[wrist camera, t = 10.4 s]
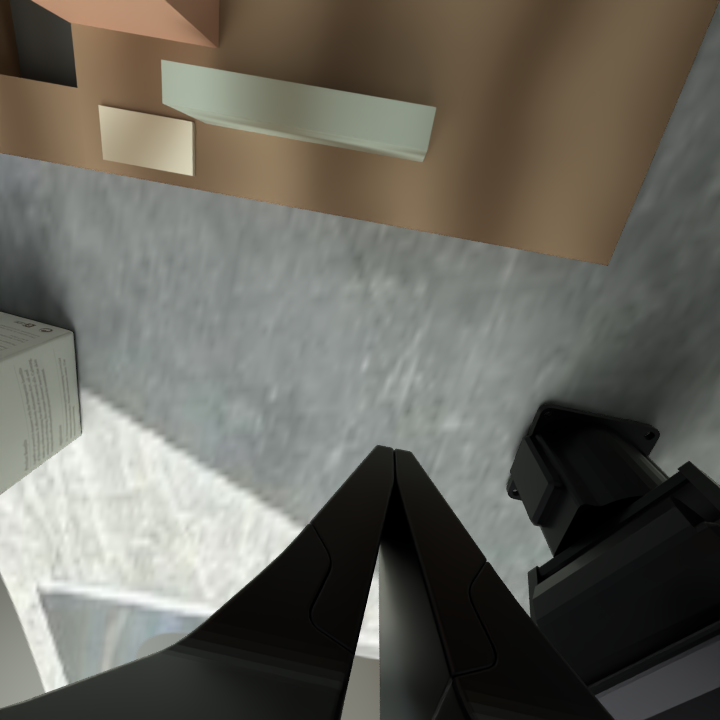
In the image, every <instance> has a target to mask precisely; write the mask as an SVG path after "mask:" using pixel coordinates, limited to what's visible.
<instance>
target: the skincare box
mask: <svg viewBox="0 0 720 720" xmlns="http://www.w3.org/2000/svg"><path fill="white" fill-rule="evenodd" d="M79 436H81V425H80V414H79V401H78V389H77V376H76V362H75V349H74V336H73V332H71V331H69V330H66V329H62V328H59V327H55V326H51V325H48V324H44V323H40V322H37V321H33V320H30V319H26V318H22V317H18V316H15V315H11V314H7V313H3V312H0V495H1V494H2V493H3V492H5V491H6V490H7V489H9V488H10V487H11V486H13V485H14V484H16V483H17V482H18V481H20V480H21V479H22V478H24V477H25V476H26V475H28V474H29V473H31V472H32V471H33V470H35V469H36V468H37V467H39V466H40V465H41V464H43V463H44V462H45V461H47V460H48V459H49V458H51V457H52V456H54V455H55V454H56V453H58V452H59V451H60V450H62V449H63V448H64V447H66V446H67V445H68V444H70V443H71V442H72V441H74V440H75V439H77V438H78V437H79Z"/></svg>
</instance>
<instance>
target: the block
mask: <svg viewBox="0 0 720 720" xmlns="http://www.w3.org/2000/svg"><path fill="white" fill-rule="evenodd" d="M32 1H33V2H35V3H37V4H38V5H40V6H42V7H44V8H45V9H47V10H49V11H51V12H52V13H54V14H56V15H58V16H59V17H61V18H63V19H64V20H66V21H68V22H70V23H76V24H81V25H87V26H93V27H98V28H104V29H110V30H115V31H121V32H127V33H133V34H138V35H144V36H150V37H155V38H161V39H167V40H172V41H178V42H184V43H189V44H195V45H201V46H207V47H212V48H218V49H219V0H32Z"/></svg>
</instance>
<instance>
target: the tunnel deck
mask: <svg viewBox="0 0 720 720" xmlns="http://www.w3.org/2000/svg"><path fill="white" fill-rule="evenodd" d="M719 1H720V0H219V49H218V48H212V47H207V46H201V45H195V44H189V43H184V42H178V41H172V40H167V39H161V38H155V37H150V36H144V35H138V34H133V33H127V32H121V31H115V30H110V29H104V28H98V27H93V26H87V25H81V24H76V23H70V22H68V21H66V20H64V19H63V18H61V17H59V16H58V15H56V14H54V13H52V12H51V11H49V10H47V9H45V8H44V7H42V6H40V5H38V4H37V3H35V2H33V1H32V0H0V153H4V154H9V155H15V156H20V157H25V158H31V159H36V160H42V161H47V162H52V163H58V164H63V165H68V166H74V167H79V168H85V169H90V170H95V171H101V172H106V173H112V174H117V175H122V176H128V177H133V178H139V179H144V180H149V181H155V182H160V183H165V184H171V185H176V186H182V187H187V188H192V189H198V190H203V191H209V192H214V193H219V194H225V195H230V196H235V197H241V198H246V199H252V200H257V201H262V202H268V203H273V204H279V205H284V206H289V207H295V208H300V209H305V210H311V211H316V212H322V213H327V214H332V215H338V216H343V217H349V218H354V219H359V220H365V221H370V222H376V223H381V224H386V225H392V226H397V227H402V228H408V229H413V230H419V231H424V232H429V233H435V234H440V235H446V236H451V237H456V238H462V239H467V240H472V241H478V242H483V243H489V244H494V245H499V246H505V247H510V248H516V249H521V250H526V251H532V252H537V253H542V254H548V255H553V256H559V257H564V258H569V259H575V260H580V261H586V262H591V263H596V264H602V265H607V266H608V264H609V262H610V259H611V257H612V255H613V252H614V250H615V247H616V245H617V243H618V240H619V238H620V236H621V233H622V231H623V228H624V226H625V224H626V221H627V219H628V217H629V214H630V212H631V209H632V207H633V205H634V202H635V200H636V198H637V195H638V193H639V190H640V188H641V186H642V183H643V181H644V179H645V176H646V174H647V171H648V169H649V167H650V164H651V162H652V160H653V157H654V155H655V153H656V150H657V148H658V145H659V143H660V141H661V138H662V136H663V134H664V131H665V129H666V126H667V124H668V122H669V119H670V117H671V115H672V112H673V110H674V107H675V105H676V103H677V100H678V98H679V96H680V93H681V91H682V88H683V86H684V84H685V81H686V79H687V77H688V74H689V72H690V69H691V67H692V65H693V62H694V60H695V58H696V55H697V53H698V50H699V48H700V46H701V43H702V41H703V39H704V36H705V34H706V31H707V29H708V27H709V24H710V22H711V20H712V17H713V15H714V13H715V10H716V8H717V5H718V3H719Z"/></svg>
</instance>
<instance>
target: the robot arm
mask: <svg viewBox="0 0 720 720" xmlns="http://www.w3.org/2000/svg"><path fill="white" fill-rule="evenodd" d="M547 412H551V414H550V415H549V416H545V414H546V413H547ZM648 432H650V433H649V434H648V435H646V436H645V434H646V433H648ZM659 436H660V433H659V431H658V430H657V429H656V428H655V427H654V426H652V425H650V424H645V423H640V422H635V421H630V420H625V419H620V418H615V417H610V416H605V415H600V414H595V413H590V412H585V411H580V410H575V409H570V408H565V407H560V406H555V405H550V404H546V405H543V406H541V407H540V408H539V409H538V411H537V414H536V416H535V419H534V421H533V423H532V426H531V428H530V431H529V433H528V435H527V436H526V437H524V438H523V440H522V442H521V445H520V447H519V450H518V452H517V455H516V457H515V460H514V462H513V465H512V467H511V469H510V473H511V477H510V479H509V482H508V484H507V487H506V490H507V492H508V495H509V496H510V497H511V498H513V499H517V500H522V502H523V504H524V506H525V509H526V511H527V514H528V516H529V518H530V520H531V522H532V523H533V525H535V526H540V528H541V530H542V532H543V535H544V537H545V539H546V541H547V544H548V546H549V548H550V550H551V553H552V555H553V557H554V558H552V559H551V560H549V561H548V562H547V563H545V564H544V565H542V566H541V567H538V566H536V567H535V568H533V569H532V570H530V571H529V572H528V585H529V601H530V617H531V618H530V617H529V615H528V614H527V613H526V612H525V611H524V609H523V608H522V607H521V606H520V604H519V603H518V602H517V600H516V599H515V598H514V596H513V595H512V594H511V592H510V591H509V589H508V588H507V587H506V585H505V584H504V583H503V581H502V580H501V579H500V577H499V576H498V574H497V573H496V572H495V570H494V569H493V567H492V566H491V564H490V563H489V562H486V561H487V560H486V558H485V556H484V555H483V553H482V552H481V550H480V549H479V548H478V546H477V545H476V543H475V542H474V540H473V539H472V538H471V536H470V535H469V533H468V532H467V530H466V529H465V528H464V526H463V525H462V523H461V522H460V520H459V519H458V518H457V516H456V515H455V513H454V512H453V510H452V509H451V508H450V506H449V505H448V503H447V502H446V501H445V499H444V498H443V496H442V495H441V493H440V492H439V491H438V489H437V488H436V486H435V485H434V483H433V482H432V481H431V479H430V478H429V476H428V475H427V473H426V472H425V471H424V469H423V468H422V466H421V465H420V463H419V462H418V461H417V459H416V458H415V456H414V455H413V454H412V452H410V451H406V450H401V449H395V450H393V448H391V447H386V446H381V445H377V446H376V447H375V448H374V449H373V450H372V451H371V452H370V453H369V455H368V456H367V457H366V458H365V459H364V460H363V462H362V463H361V464H360V465H359V466H358V467H357V468H356V470H355V471H354V472H353V473H352V474H351V475H350V477H349V478H348V479H347V480H346V481H345V482H344V483H343V485H342V486H341V487H340V488H339V489H338V490H337V492H336V493H335V494H334V495H333V496H332V497H331V498H330V500H329V501H328V502H327V503H326V504H325V505H324V507H323V508H322V509H321V510H320V511H319V512H318V513H317V515H316V516H315V517H314V518H313V519H312V520H311V522H310V524H308V525H307V526H306V527H305V528H304V529H303V530H302V532H301V533H300V534H299V535H298V536H297V537H296V538H295V539H294V540H293V542H292V543H291V544H290V545H289V546H288V547H287V548H286V549H285V550H284V551H283V552H282V553H281V554H280V555H279V556H278V557H277V558H276V559H275V560H274V561H273V562H271V563H270V564H269V565H268V566H267V567H266V568H265V569H264V570H263V571H262V572H261V573H260V574H258V575H257V576H256V577H255V578H254V579H253V580H252V581H250V582H249V583H248V584H247V585H246V586H245V587H244V588H242V589H241V590H240V591H239V592H238V593H237V594H236V595H234V596H233V597H232V598H231V599H230V600H229V601H228V602H226V603H225V604H224V605H223V606H222V607H221V608H220V609H218V610H217V611H216V612H215V613H214V614H213V615H212V616H210V617H209V618H208V619H207V620H206V621H205V622H203V623H202V624H201V625H200V626H199V627H197V628H196V629H195V630H194V631H192V632H191V633H190V634H188V635H187V636H185V637H184V638H182V639H181V640H179V641H178V642H176V643H175V644H173V645H171V646H169V647H167V648H165V649H164V650H162V651H159V652H157V653H154V654H151V655H148V656H146V657H143V658H140V659H137V660H135V661H132V662H129V663H126V664H124V665H121V666H118V667H115V668H113V669H110V670H107V671H105V672H102V673H99V674H96V675H94V676H91V677H88V678H85V679H83V680H80V681H77V682H74V683H72V684H69V685H66V686H64V687H61V688H58V689H55V690H53V691H50V692H47V693H44V694H42V695H39V696H37V697H34V698H31V699H28V700H25V701H23V702H19V703H16V704H13V705H10V706H6V707H3V708H0V720H341V715H342V710H343V705H344V700H345V695H346V691H347V686H348V681H349V677H350V673H351V669H352V664H353V659H354V655H355V651H356V647H357V643H358V638H359V634H360V630H361V625H362V621H363V617H364V612H365V608H366V604H367V599H368V595H369V591H370V586H371V582H372V578H373V573H374V569H375V565H376V560H377V556H378V552H379V654H380V720H720V485H719V484H717V483H716V482H715V481H714V480H712V479H711V478H710V477H709V476H707V475H706V474H705V473H704V472H702V471H701V470H700V469H699V468H697V467H696V466H695V465H694V464H693V463H691V462H690V461H688V462H687V463H685V464H684V465H682V466H681V467H679V468H678V470H679V472H677V473H676V474H675V475H673V476H672V477H670V478H669V477H668V476H667V475H666V474H665V473H664V472H663V471H662V470H661V469H660V468H659V467H658V466H657V465H656V464H655V463H654V462H653V461H652V460H651V459H650V458H649V457H648V456H649V454H650V452H651V451H652V449H653V447H654V445H655V444H656V442H657V440H658V438H659ZM515 489H517V490H518V491H513V490H515Z"/></svg>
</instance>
